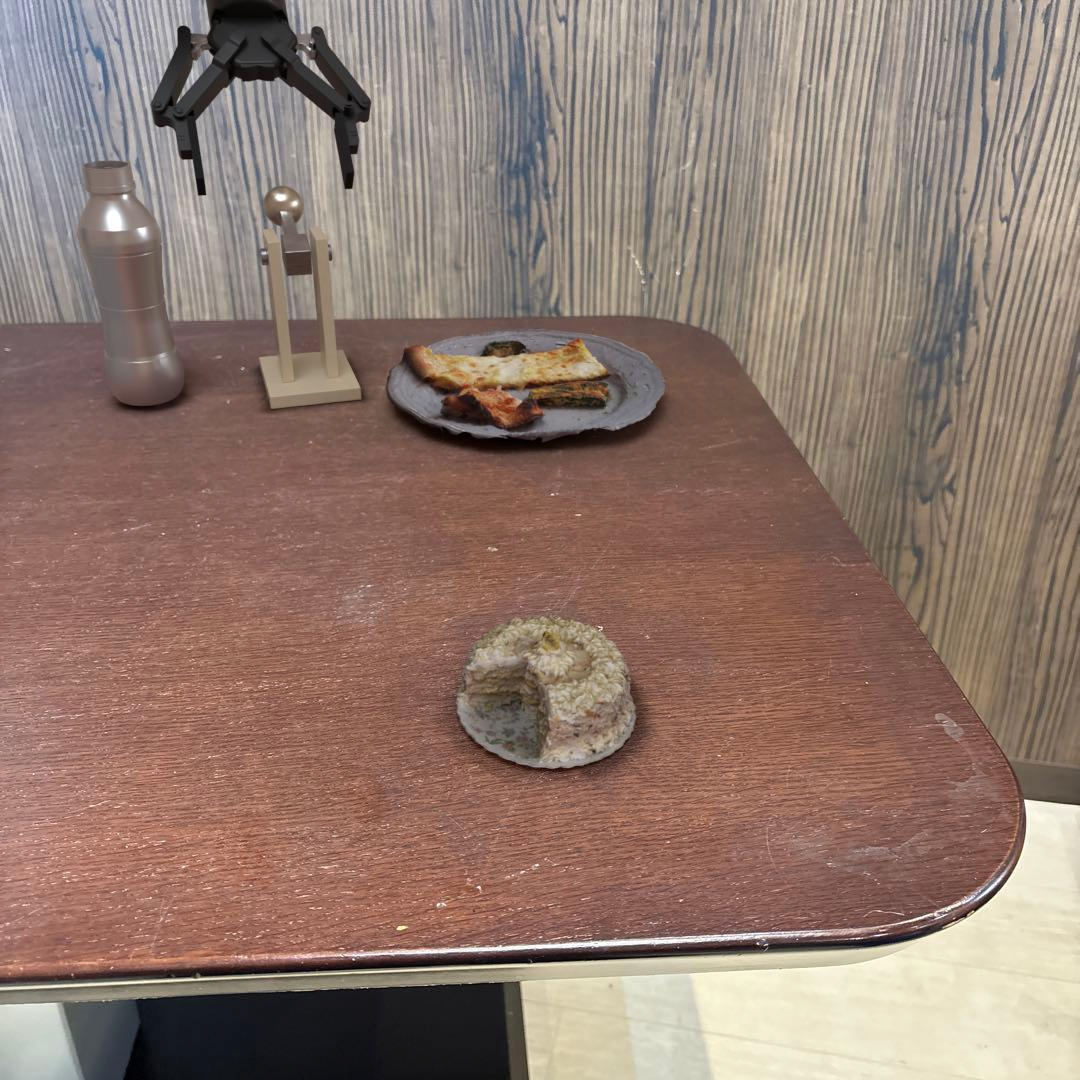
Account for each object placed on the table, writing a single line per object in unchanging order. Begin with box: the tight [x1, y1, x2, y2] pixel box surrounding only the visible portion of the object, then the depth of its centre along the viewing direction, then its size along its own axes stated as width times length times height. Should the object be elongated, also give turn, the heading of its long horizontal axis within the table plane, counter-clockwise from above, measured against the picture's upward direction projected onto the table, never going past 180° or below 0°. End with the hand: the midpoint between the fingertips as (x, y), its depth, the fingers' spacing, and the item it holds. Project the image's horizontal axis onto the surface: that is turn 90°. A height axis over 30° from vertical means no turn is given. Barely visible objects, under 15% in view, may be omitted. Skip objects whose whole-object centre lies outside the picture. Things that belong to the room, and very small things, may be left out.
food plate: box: [385, 327, 666, 443], centre depth 91 cm, size 25×23×4 cm
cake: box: [454, 613, 637, 770], centre depth 54 cm, size 10×10×5 cm
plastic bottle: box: [76, 160, 185, 407], centre depth 84 cm, size 6×7×20 cm
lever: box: [262, 185, 313, 277], centre depth 90 cm, size 11×4×4 cm, turn 19°
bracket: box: [258, 225, 362, 410], centre depth 90 cm, size 10×8×14 cm
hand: (276, 184), depth 94 cm, fingers open, 13 cm apart
